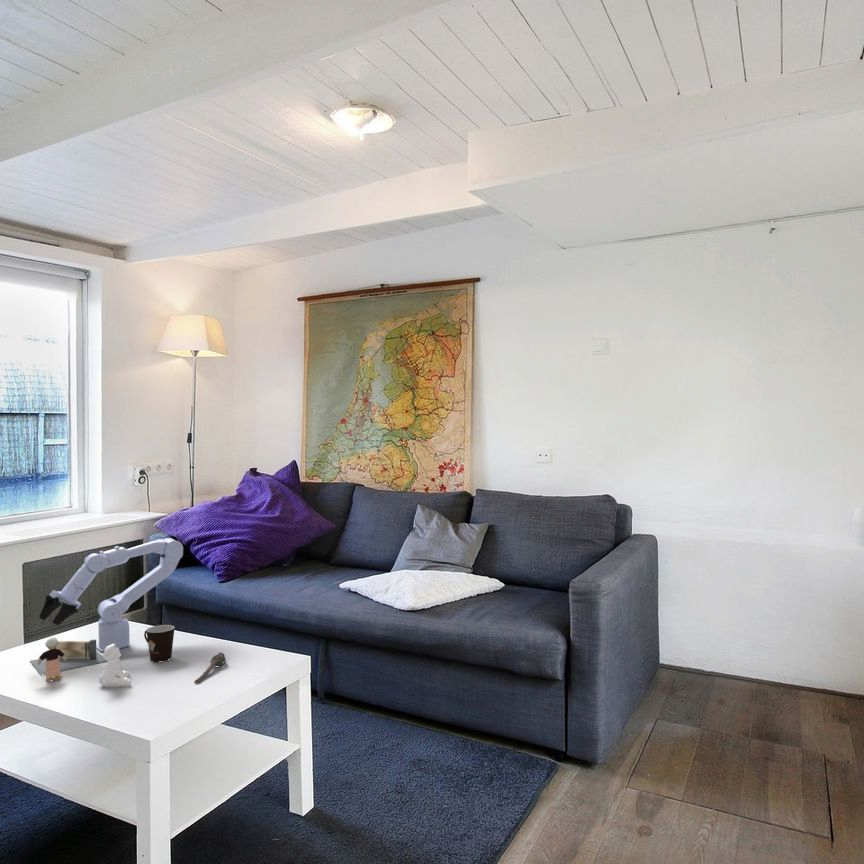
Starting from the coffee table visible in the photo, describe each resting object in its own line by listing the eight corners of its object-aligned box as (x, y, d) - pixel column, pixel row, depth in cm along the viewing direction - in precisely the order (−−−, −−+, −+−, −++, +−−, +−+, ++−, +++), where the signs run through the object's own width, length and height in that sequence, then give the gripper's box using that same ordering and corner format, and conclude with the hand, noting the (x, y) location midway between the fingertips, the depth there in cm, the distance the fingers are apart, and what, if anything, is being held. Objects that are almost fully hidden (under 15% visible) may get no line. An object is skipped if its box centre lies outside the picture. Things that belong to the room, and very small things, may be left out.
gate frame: (93, 649, 234) (92, 628, 234) (107, 661, 221) (107, 639, 221) (29, 661, 222) (29, 639, 222) (41, 675, 209) (40, 652, 209)
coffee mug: (177, 660, 222) (177, 629, 222) (149, 665, 217) (149, 634, 217) (169, 650, 231) (168, 621, 231) (142, 655, 227) (141, 625, 226)
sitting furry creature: (131, 687, 199) (131, 646, 199) (99, 692, 195) (98, 650, 195) (130, 676, 207) (130, 637, 207) (98, 681, 203) (98, 641, 203)
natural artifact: (228, 662, 223) (234, 652, 223) (196, 686, 201) (204, 674, 200) (218, 655, 223) (225, 645, 223) (186, 678, 201) (194, 667, 201)
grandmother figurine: (63, 674, 209) (63, 633, 209) (67, 677, 207) (67, 636, 206) (35, 681, 204) (35, 639, 204) (39, 684, 201) (39, 641, 201)
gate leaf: (90, 656, 224) (90, 641, 224) (88, 657, 222) (87, 642, 222) (55, 655, 225) (55, 640, 225) (53, 657, 223) (52, 642, 223)
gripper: (80, 585, 237) (52, 620, 232) (56, 573, 225) (26, 610, 220) (94, 595, 235) (67, 630, 230) (71, 584, 222) (41, 620, 217)
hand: (48, 621), depth 225 cm, fingers open, 7 cm apart
